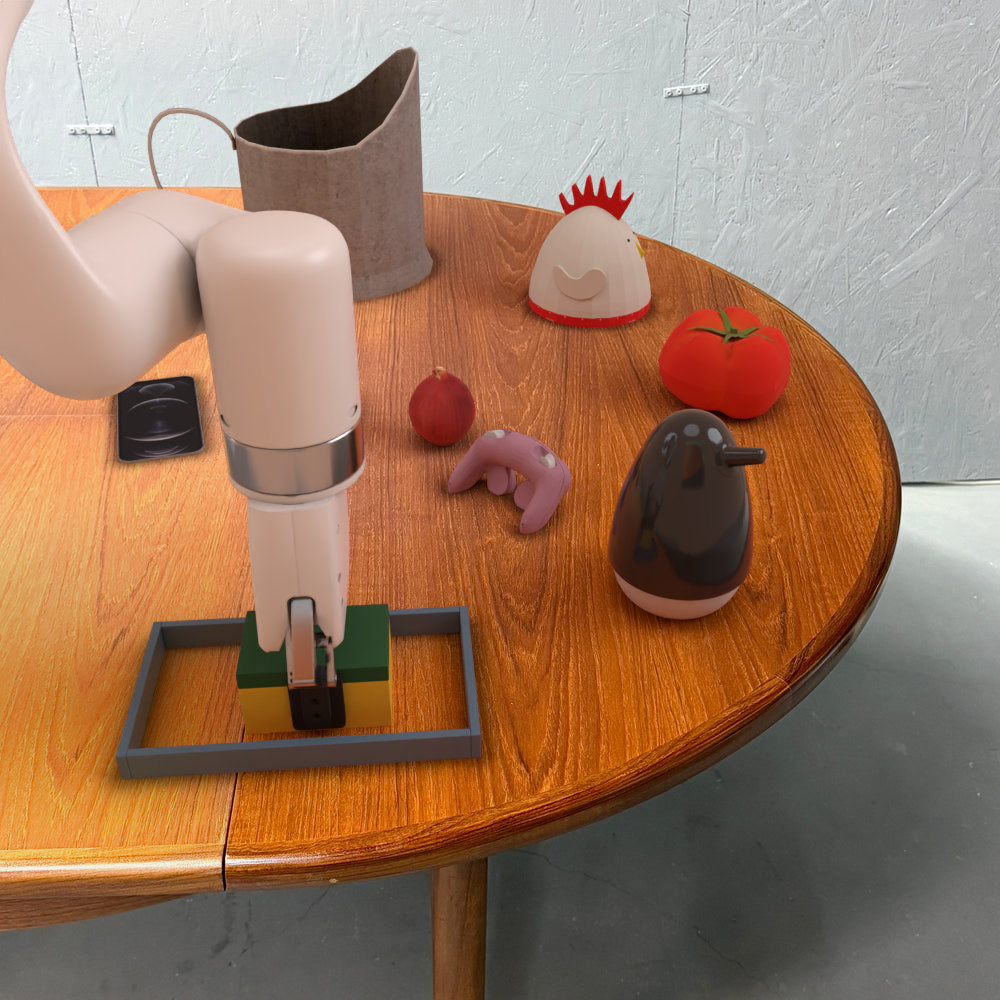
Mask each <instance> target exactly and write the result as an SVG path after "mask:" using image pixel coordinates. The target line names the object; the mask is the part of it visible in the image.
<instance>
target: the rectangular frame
mask: <svg viewBox="0 0 1000 1000" xmlns="http://www.w3.org/2000/svg"><path fill="white" fill-rule="evenodd" d="M245 619H246V616H244V617H243V616H242V617H223V618H222V617H221V618H204V619H202V618H201V619H185V620H165V621H164V620H163V621H161V620H160V621H153V622H152V625H151V627H150V628H151V629H150V632H149V636H148V639H147V643H146V646H145V650H144V654H143V658H142V661H141V665H140V667H139V672H138V675H137V678H136V682H135V686H134V690H133V693H132V697H131V701H130V704H129V707H128V710H127V715H126V718H125V722H124V726H123V728H122V731H121V736H120V738H119V743H118V747H117V750H116V753H115V760H116V761H115V762H116V764H117V768H118V771H119V775H120V779H121V780H122V781H123V780H124V781H125V780H141V779H155V778H171V777H173V778H174V777H188V776H189V777H190V776H203V775H204V776H205V775H206V776H207V775H220V774H221V775H222V774H236V773H237V774H238V773H250V772H251V773H252V772H253V773H254V772H268V771H269V772H270V771H281V770H282V771H283V770H284V771H285V770H299V769H315V768H331V767H332V768H333V767H334V768H335V767H344V766H345V767H348V766H364V765H379V764H395V763H397V764H398V763H411V762H413V763H414V762H429V761H444V760H445V761H446V760H458V759H461V760H462V759H471V758H472V759H476V758H481V757H482V733H481V723H480V722H481V721H480V713H479V703H478V702H479V701H478V693H477V684H476V683H477V682H476V673H475V666H474V665H475V664H474V653H473V643H472V634H471V624H470V615H469V606H468V605H460V606H459V605H455V606H438V607H437V606H436V607H435V606H433V607H415V608H399V609H398V608H397V609H396V608H395V609H389V621H390V635H391V637H404V636H423V635H424V636H425V635H442V634H443V635H444V634H459V636H460V637H459V638H460V647H461V648H460V649H461V659H462V660H461V661H462V670H463V671H462V672H463V683H464V684H463V685H464V695H465V704H466V717H467V728H454V729H437V730H422V731H420V730H419V731H406V732H388V733H374V734H373V733H371V734H356V735H339V736H322V737H307V738H305V737H304V738H289V739H272V740H254V741H241V742H240V741H239V742H238V741H237V742H224V743H223V742H222V743H221V742H220V743H206V744H190V745H173V746H157V747H156V746H155V747H142V748H141V745H142V742H143V738H144V733H145V730H146V725H147V722H148V717H149V713H150V710H151V705H152V702H153V699H154V694H155V690H156V686H157V683H158V679H159V675H160V671H161V667H162V663H163V659H164V655H165V652H166V649H178V648H179V649H181V648H198V647H199V648H200V647H217V646H218V647H219V646H237V645H238V646H239V645H241V641H242V636H243V630H244V624H245Z"/></svg>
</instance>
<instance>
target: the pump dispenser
mask: <svg viewBox="0 0 1000 1000" xmlns="http://www.w3.org/2000/svg"><path fill="white" fill-rule="evenodd" d="M767 454H768V453H767V451H766V449H765V448H764V447H755V446H739V445H738V443H737V441H736V439H735V437H734V435H733V433H732V431H731V430H730V428H729V427H728V425H727V424H726V423H725V421H723V419H721V418H720V417H719V416H717V415H715V414H714V413H713V412H710V411H705V410H701V409H698V408H684V409H679V410H676V411H673V412H672V413H670V414H668V415H666V416H665V417H664V418H662V419H661V420H660V421H659V423H657V424H656V426H655V427H653V429H652V430H651V431H650V433H649V435H648V436H647V437H646V439H645V440H644V441H643V443H642V444H641V447H640V448H639V449H638V452H637V453H636V455H635V457H634V459H633V461H632V463H631V465H630V467H629V468H628V470H627V473H626V476H625V477H624V480H623V483H622V485H621V488H620V491H619V493H618V496H617V500H616V503H615V506H614V511H613V515H612V519H611V523H610V526H609V527H610V528H609V531H608V537H607V558H608V562H609V564H610V566H611V568H612V570H613V573H614V576H615V579H616V581H617V583H618V585H619V586H620V588H621V590H622V591H623V593H624V594H625V596H626V597H627V598H628V599H629V600H630V601H631V602H632V603H634V605H636V606H638V608H640V609H642V610H643V611H645V612H647V613H649V614H652V615H653V616H657V617H661V618H665V619H669V620H693V619H698V618H702V617H705V616H708V615H710V614H712V613H714V612H716V611H717V610H719V609H721V608H722V607H723V606H725V605H726V604H727V603H728V602H729V601H730V600H731V599H732V598H733V597H734V595H735V594H736V592H738V589H739V588H740V586H741V585H742V584H743V583H744V582H745V581H746V580H747V578H748V576H749V574H750V572H751V567H752V563H753V555H754V513H753V504H752V502H753V501H752V496H751V489H750V485H749V480H748V475H747V471H746V468H745V467H749V466H756V465H757V466H758V465H763V464H764V463H765V462H766V461H767V456H768V455H767Z"/></svg>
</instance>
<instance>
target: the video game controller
mask: <svg viewBox="0 0 1000 1000" xmlns="http://www.w3.org/2000/svg"><path fill="white" fill-rule="evenodd" d="M516 473H517V474H519V475H521V476H523V477H524V478H525V479H526V480H524V481H522V482H520V483H519V484H518V486H517V477H516ZM485 474H486V485H487V489H488V491H489V492H490V493H492V494H494V495H497V496H504V495H508V494H512V493H514V494H513V500H514V503H515V505H516V507H518V508H520V509H522V510H524V512H523V514H522V516H521V518H520V521H519V532H520V534H521V535H530V534H534V533H536V532H538V531H540V529H542V528H544V526H546V524H547V523H548V522H549V521H550V518H551V517H552V516H553V514H555V512H556V510H557V507H558V506H559V504H560V501H561V500H562V498H563V497H564V496H566V495H567V493H568V492H569V490H570V488H571V485H572V473H571V470H570V468H569V466H568V465H567V463H566V462H565V461H564V460H562V459H560V458H559V457H558V456H557V454H556V453H555V452H554V451H553V450H552V449H551V448H550V447H548V446H547V444H545V443H543V441H541V440H539V439H537V438H535V437H534V436H531V435H528V434H525V433H522V432H518V431H512V430H508V429H502V428H501V429H492V430H486V431H485V433H484V434H482V435H480V436H478V437H477V439H475V440H474V442H473V443H472V444H471V446H470V447H469V449H468V450H467V451H466V453H465V454H464V455H463V457H462V458H461V459H460V461H459V463H457V464H456V466H455V467H454V469H453V470H452V472H451V474H450V475H449V479H448V481H447V492H448V493H449V494H451V495H452V494H457V493H460V492H464V491H467V490H469V489H471V488H472V487H474V486H475V485H476V484H477V482H478V481H480V479H481V478H482V477H483V476H484V475H485ZM516 486H517V487H516Z"/></svg>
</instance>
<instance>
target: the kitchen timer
mask: <svg viewBox="0 0 1000 1000" xmlns="http://www.w3.org/2000/svg"><path fill="white" fill-rule="evenodd" d="M598 183H599V184H598V189H597V193H596V194H595V189H594V184H593V178H592V174H588V175H587V177H586V179H585V184H584V189H583V193H582V192H581V190H580V188H579V186H578V184H577V183H573V184H572V185H571V194H572V197H573V204H571V203H569V201H568V200H567V198H566V197H565V194H564V193H563V192H559V194H558V199H559V202H560V206H561V208H562V211H563V213H564V216H563V217H562V218H561V219H560V220H559V221H557V223H556V224H555V226H554V227H553V228H552V229H551V230H550V232H549V233H548V234H547V236H546V238H545V240H544V241H543V244H542V245H541V247H540V249H539V252H538V255H537V257H536V260H535V263H534V267H533V270H532V272H531V276H530V281H529V286H528V306H529V308H530V309H531V311H532V312H533V313H535V314H536V315H538V316H539V317H541V318H543V319H546V320H547V321H551V322H552V323H556V324H560V325H564V326H570V327H576V328H590V329H596V328H597V329H598V328H611V327H612V328H613V327H617V326H618V327H619V326H623V325H624V326H625V325H627V324H630V323H632V322H636V321H638V320H641V318H643V317H644V316H645V315H647V314H648V312H649V310H650V308H651V302H652V291H651V282H650V278H649V274H648V268H647V264H646V260H645V254H646V253H645V250H643V248H642V246H641V244H640V241H639V239H638V237H637V235H636V234H635V232H634V230H633V229H632V227H631V226H630V225H629V223H628V222H627V221H626V220H625V219H624V218H623V216H624V214H625V212H626V211H627V209H628V207H629V206H630V204H631V202H632V200H633V198H634V195H635V192H634V191H633V192H632V193H630V195H629V196H627V198H626V199H623V198H622V189H623V187H622V186H623V185H622V184H623V183H622V179H621V178H620V179H619V180H618V181H617V183H616V185H615V187H614V189H613V191H612V194H611V197H609V196H608V191H607V183H606V179H605V176H604V175H602V176H601V178H600V179H599V182H598Z"/></svg>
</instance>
